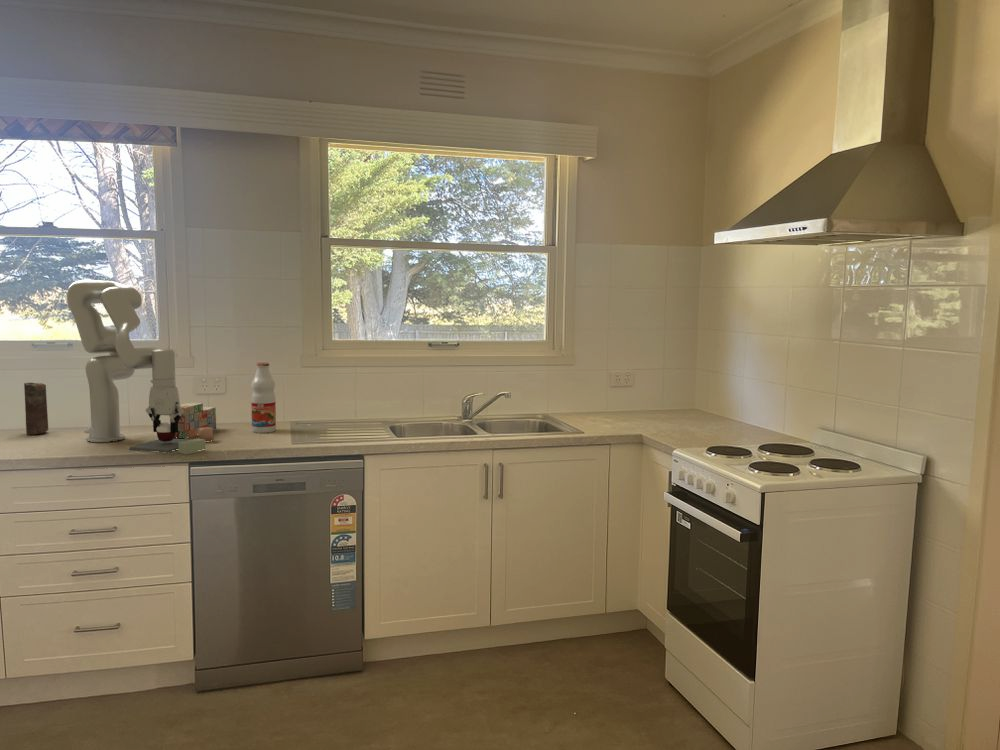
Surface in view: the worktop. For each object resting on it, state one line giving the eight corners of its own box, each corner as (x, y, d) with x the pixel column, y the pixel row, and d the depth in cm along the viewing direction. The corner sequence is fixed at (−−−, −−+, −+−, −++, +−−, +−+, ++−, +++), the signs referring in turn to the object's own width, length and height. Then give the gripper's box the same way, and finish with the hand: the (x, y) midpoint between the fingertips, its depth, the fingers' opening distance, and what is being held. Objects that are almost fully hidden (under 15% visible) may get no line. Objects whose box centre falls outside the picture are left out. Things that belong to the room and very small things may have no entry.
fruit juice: (279, 429, 303) (278, 362, 300) (271, 433, 294) (270, 364, 291) (257, 428, 304) (255, 361, 301) (248, 432, 294) (246, 363, 291)
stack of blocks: (202, 428, 302) (202, 399, 301) (216, 429, 301) (215, 399, 300) (170, 438, 281) (169, 406, 280) (185, 439, 280) (184, 407, 279)
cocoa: (180, 440, 269) (181, 407, 269) (175, 442, 263) (176, 409, 262) (153, 438, 268) (154, 406, 267) (147, 441, 262) (148, 408, 261)
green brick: (178, 453, 256) (178, 442, 256) (198, 449, 263) (198, 438, 263) (186, 454, 254) (185, 443, 254) (205, 450, 261) (205, 439, 261)
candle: (30, 432, 288) (27, 381, 286) (51, 431, 290) (48, 381, 288) (23, 435, 281) (20, 384, 278) (45, 435, 283) (42, 383, 280)
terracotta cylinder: (195, 442, 275) (195, 428, 274) (204, 439, 280) (203, 426, 279) (207, 442, 274) (207, 429, 273) (215, 440, 279) (215, 427, 278)
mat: (129, 449, 259) (129, 447, 259) (164, 440, 277) (164, 437, 277) (168, 452, 255) (168, 450, 255) (201, 443, 273) (201, 440, 273)
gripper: (136, 383, 262) (138, 432, 264) (177, 385, 258) (179, 435, 260) (151, 381, 269) (152, 428, 271) (191, 383, 265) (193, 431, 267)
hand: (165, 431), depth 265 cm, fingers closed on cocoa, 6 cm apart
